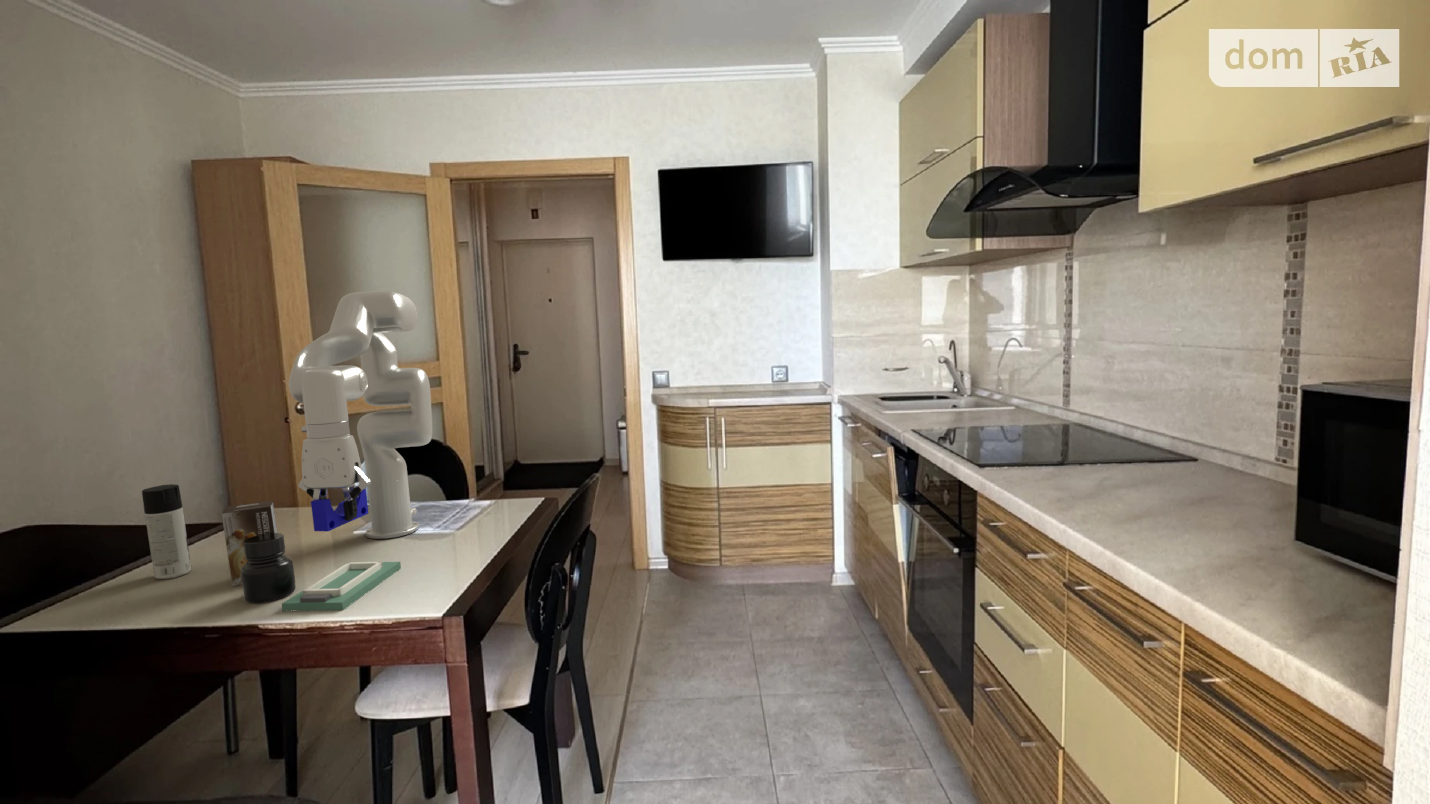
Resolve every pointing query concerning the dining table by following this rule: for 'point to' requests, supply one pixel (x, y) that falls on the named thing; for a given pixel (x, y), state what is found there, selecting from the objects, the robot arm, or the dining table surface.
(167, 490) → the spray can
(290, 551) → the dining table surface
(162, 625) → the dining table surface
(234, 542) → the coffee box
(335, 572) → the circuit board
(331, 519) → the cable clip
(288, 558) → the ink bottle
